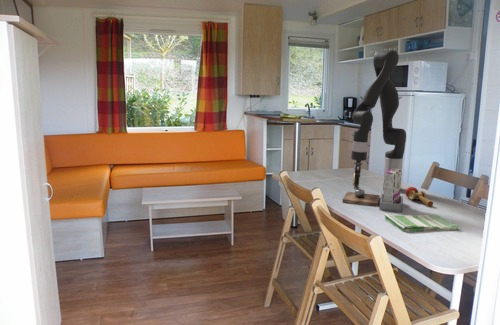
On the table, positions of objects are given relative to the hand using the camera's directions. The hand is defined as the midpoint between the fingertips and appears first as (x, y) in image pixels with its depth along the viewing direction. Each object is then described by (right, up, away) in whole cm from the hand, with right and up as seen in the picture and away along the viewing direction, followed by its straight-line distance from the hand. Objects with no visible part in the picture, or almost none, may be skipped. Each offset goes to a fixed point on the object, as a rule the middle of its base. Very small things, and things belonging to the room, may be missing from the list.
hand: (356, 183), depth 206 cm
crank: (-1, -5, -4) cm, 7 cm away
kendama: (+28, -9, -10) cm, 31 cm away
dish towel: (+14, -15, -43) cm, 48 cm away
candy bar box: (+11, -9, -19) cm, 24 cm away
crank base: (0, -8, -9) cm, 12 cm away
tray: (+11, -10, -19) cm, 24 cm away
